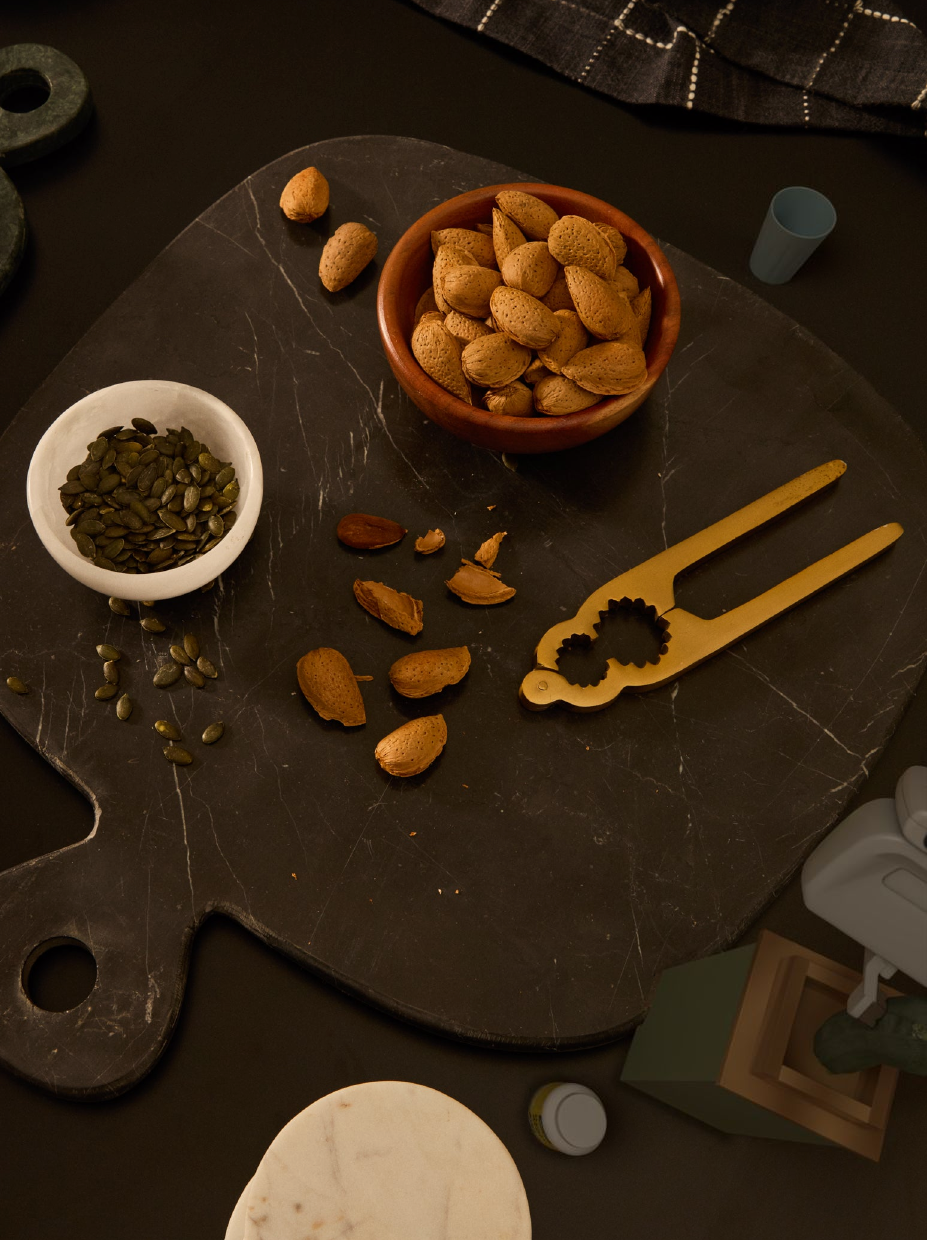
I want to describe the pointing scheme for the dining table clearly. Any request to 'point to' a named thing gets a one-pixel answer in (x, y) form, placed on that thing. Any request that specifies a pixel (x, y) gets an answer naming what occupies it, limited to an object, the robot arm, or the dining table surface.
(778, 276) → the cup
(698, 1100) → the stand
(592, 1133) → the supplement bottle
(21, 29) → the dining table surface
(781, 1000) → the socket pad
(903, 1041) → the vegetable
